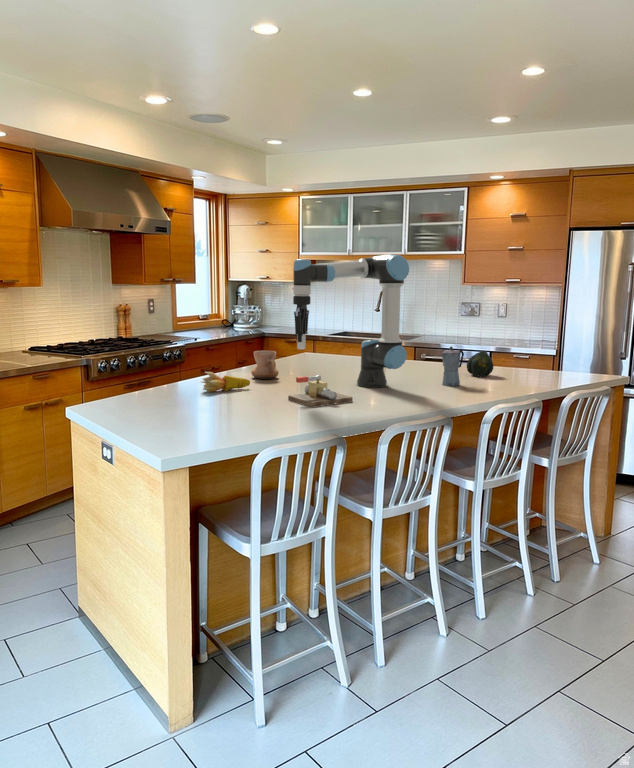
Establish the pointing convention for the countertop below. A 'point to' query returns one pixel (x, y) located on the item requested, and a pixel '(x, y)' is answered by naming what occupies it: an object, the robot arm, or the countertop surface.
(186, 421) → the countertop surface
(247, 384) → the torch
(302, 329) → the robot arm
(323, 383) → the valve pipe
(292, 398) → the mounting board
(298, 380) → the valve lever
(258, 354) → the ceramic jug
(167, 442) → the countertop surface
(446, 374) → the moka pot
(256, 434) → the countertop surface
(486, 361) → the squash
